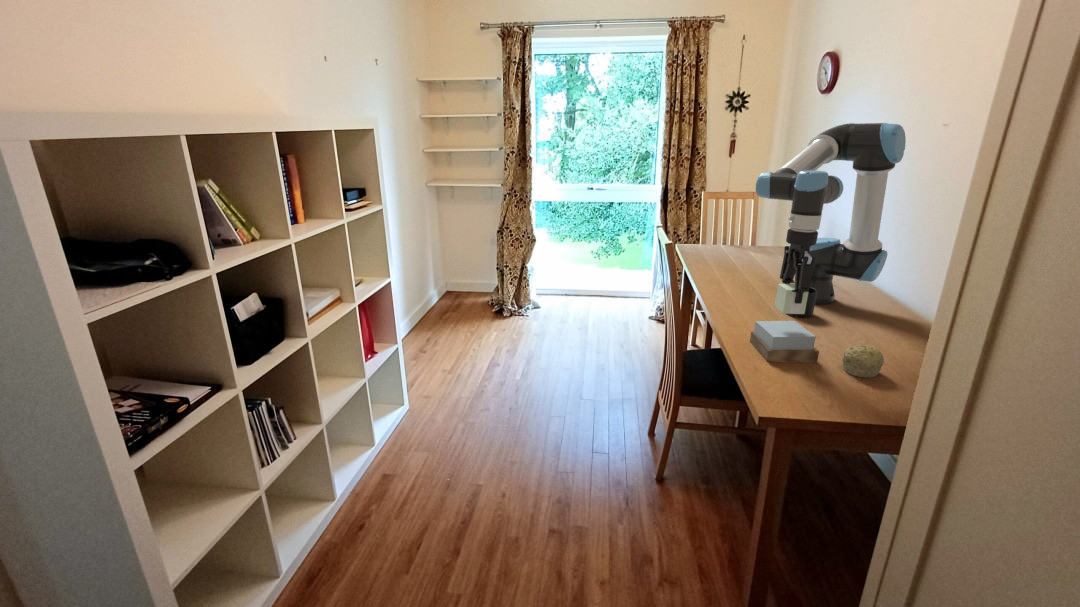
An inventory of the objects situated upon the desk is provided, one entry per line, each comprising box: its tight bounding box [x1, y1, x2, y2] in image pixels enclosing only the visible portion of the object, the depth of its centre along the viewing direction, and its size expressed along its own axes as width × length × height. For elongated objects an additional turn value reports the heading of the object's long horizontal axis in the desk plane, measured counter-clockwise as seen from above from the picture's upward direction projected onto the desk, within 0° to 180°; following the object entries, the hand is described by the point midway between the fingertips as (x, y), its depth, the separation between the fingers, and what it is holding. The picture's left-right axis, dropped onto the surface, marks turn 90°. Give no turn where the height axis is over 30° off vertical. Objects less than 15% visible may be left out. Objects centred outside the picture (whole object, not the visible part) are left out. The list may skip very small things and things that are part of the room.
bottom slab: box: [749, 331, 820, 363], centre depth 150 cm, size 14×14×4 cm
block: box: [774, 283, 808, 315], centre depth 145 cm, size 6×6×7 cm
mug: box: [787, 287, 817, 319], centre depth 180 cm, size 9×12×9 cm
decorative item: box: [842, 344, 885, 378], centre depth 138 cm, size 10×10×10 cm
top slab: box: [753, 320, 816, 350], centre depth 149 cm, size 12×12×4 cm
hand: (789, 309), depth 146 cm, fingers closed on block, 6 cm apart
